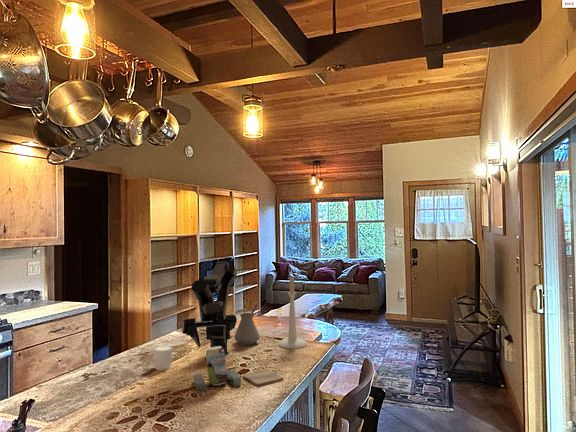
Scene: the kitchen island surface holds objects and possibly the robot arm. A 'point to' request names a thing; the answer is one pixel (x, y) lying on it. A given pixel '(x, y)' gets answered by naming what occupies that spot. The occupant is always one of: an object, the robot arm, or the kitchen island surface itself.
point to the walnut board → (263, 377)
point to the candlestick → (292, 325)
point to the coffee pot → (247, 329)
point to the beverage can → (216, 365)
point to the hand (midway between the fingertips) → (213, 345)
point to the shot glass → (162, 357)
